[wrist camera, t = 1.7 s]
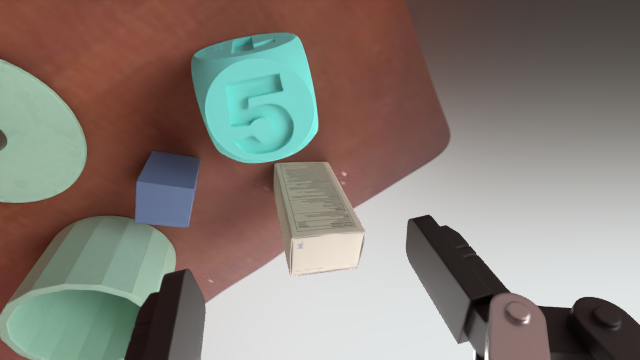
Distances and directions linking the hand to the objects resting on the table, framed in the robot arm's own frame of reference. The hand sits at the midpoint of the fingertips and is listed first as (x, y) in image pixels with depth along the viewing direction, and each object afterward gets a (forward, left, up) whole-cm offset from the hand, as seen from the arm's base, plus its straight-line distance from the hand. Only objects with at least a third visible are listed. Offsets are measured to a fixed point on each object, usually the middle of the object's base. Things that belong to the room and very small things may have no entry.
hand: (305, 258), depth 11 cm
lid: (-21, -9, -21) cm, 31 cm away
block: (-7, -11, -22) cm, 25 cm away
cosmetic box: (+6, -9, -22) cm, 24 cm away
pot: (-12, -23, -22) cm, 34 cm away
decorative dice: (-1, 0, -22) cm, 22 cm away
